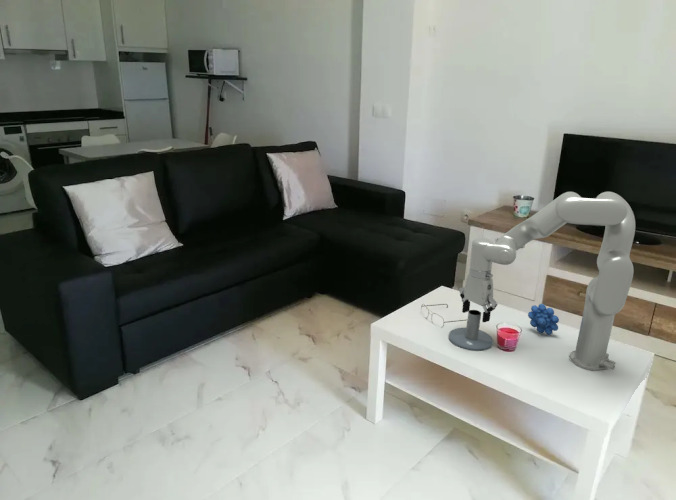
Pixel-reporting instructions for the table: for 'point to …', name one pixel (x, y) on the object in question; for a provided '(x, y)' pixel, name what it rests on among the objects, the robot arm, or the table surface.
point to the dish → (474, 345)
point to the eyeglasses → (439, 315)
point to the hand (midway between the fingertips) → (475, 316)
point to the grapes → (543, 319)
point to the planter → (473, 324)
